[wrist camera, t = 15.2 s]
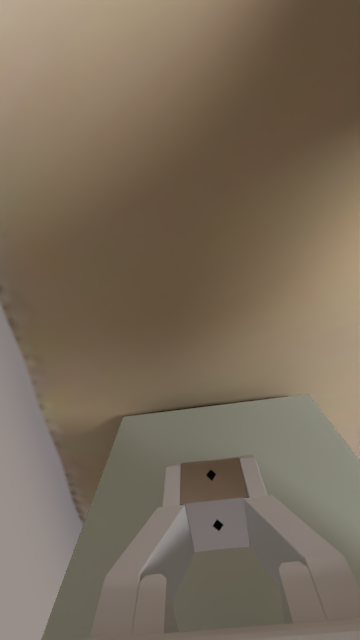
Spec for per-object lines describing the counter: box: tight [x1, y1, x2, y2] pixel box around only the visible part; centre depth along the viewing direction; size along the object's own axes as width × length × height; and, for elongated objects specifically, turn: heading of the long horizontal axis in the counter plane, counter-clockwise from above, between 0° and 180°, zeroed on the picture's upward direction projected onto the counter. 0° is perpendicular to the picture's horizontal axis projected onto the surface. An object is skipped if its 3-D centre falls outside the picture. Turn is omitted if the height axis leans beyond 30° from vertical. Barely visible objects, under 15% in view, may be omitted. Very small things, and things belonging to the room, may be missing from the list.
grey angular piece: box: [41, 394, 360, 640], centre depth 17 cm, size 15×14×13 cm
